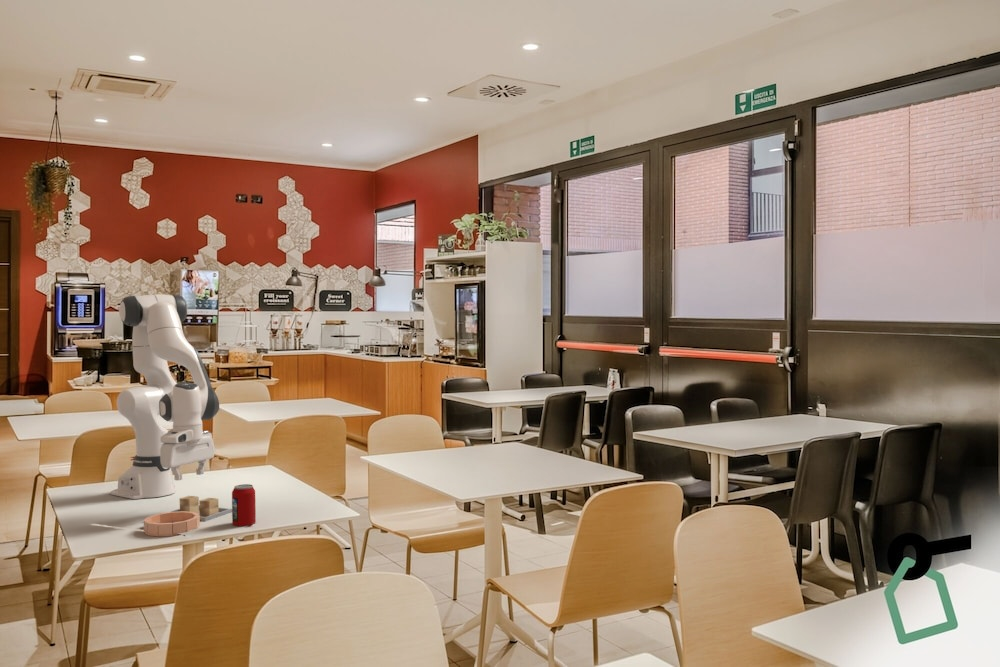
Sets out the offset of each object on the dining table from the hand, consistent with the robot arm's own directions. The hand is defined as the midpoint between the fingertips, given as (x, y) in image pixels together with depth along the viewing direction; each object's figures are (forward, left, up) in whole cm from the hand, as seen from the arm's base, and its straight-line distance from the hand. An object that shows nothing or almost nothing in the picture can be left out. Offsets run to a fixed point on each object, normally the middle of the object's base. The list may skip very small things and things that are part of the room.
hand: (189, 477), depth 258 cm
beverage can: (+25, -4, -12) cm, 28 cm away
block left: (0, 0, -12) cm, 12 cm away
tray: (+4, 0, -12) cm, 13 cm away
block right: (+8, 0, -12) cm, 14 cm away
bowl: (+8, -15, -12) cm, 21 cm away
